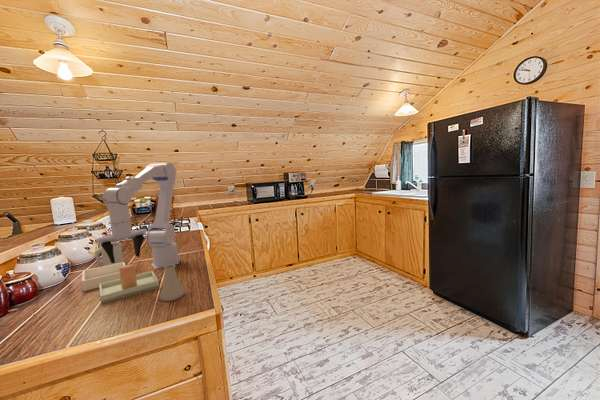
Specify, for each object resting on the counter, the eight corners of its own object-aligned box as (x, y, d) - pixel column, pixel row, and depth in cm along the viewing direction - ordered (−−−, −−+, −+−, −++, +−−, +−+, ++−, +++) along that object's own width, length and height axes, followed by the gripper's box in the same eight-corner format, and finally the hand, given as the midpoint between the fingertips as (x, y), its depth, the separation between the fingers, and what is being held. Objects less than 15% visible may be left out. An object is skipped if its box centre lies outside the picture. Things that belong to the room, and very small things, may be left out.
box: (125, 271, 105) (124, 261, 105) (128, 281, 95) (127, 270, 95) (84, 280, 97) (82, 270, 97) (83, 292, 87) (81, 281, 87)
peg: (132, 282, 91) (130, 263, 91) (139, 284, 89) (137, 265, 89) (119, 287, 88) (116, 268, 87) (126, 290, 86) (124, 270, 85)
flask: (190, 292, 85) (187, 263, 83) (172, 303, 78) (169, 271, 77) (172, 289, 87) (169, 261, 86) (154, 300, 80) (151, 269, 79)
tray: (152, 277, 98) (152, 270, 98) (159, 287, 89) (158, 280, 89) (100, 290, 88) (99, 283, 88) (101, 304, 79) (100, 296, 79)
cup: (119, 266, 111) (117, 246, 110) (92, 270, 108) (89, 249, 107) (125, 261, 118) (123, 242, 117) (100, 264, 115) (97, 244, 114)
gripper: (139, 217, 98) (143, 251, 100) (91, 224, 87) (97, 263, 89) (146, 218, 94) (150, 254, 95) (97, 227, 83) (103, 267, 84)
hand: (125, 259), depth 92 cm, fingers open, 7 cm apart
